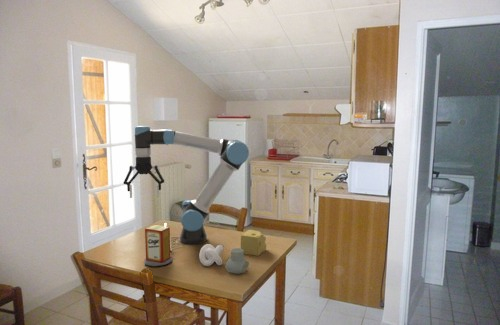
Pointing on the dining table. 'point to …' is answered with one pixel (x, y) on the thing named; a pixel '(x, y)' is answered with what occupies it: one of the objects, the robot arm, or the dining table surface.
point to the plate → (157, 262)
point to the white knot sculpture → (210, 255)
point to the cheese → (253, 242)
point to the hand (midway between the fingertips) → (144, 196)
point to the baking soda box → (157, 243)
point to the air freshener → (237, 262)
